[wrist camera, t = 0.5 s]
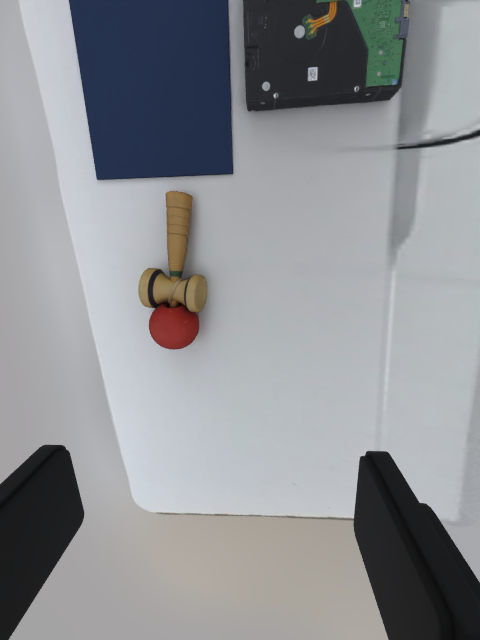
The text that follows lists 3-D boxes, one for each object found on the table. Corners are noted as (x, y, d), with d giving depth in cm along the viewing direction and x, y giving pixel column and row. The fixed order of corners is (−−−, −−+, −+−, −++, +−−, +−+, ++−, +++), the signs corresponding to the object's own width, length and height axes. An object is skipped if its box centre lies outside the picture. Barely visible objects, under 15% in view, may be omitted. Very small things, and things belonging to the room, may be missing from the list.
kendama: (148, 199, 34) (145, 341, 37) (135, 182, 28) (133, 354, 31) (211, 205, 35) (204, 343, 38) (212, 191, 29) (203, 357, 32)
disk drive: (247, 116, 30) (391, 101, 28) (245, 104, 27) (404, 87, 26) (242, -9, 27) (402, -32, 25) (240, -36, 24) (418, -63, 23)
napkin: (63, -46, 27) (61, -49, 27) (226, -64, 26) (225, -68, 25) (98, 179, 33) (96, 179, 32) (232, 173, 31) (232, 173, 31)
